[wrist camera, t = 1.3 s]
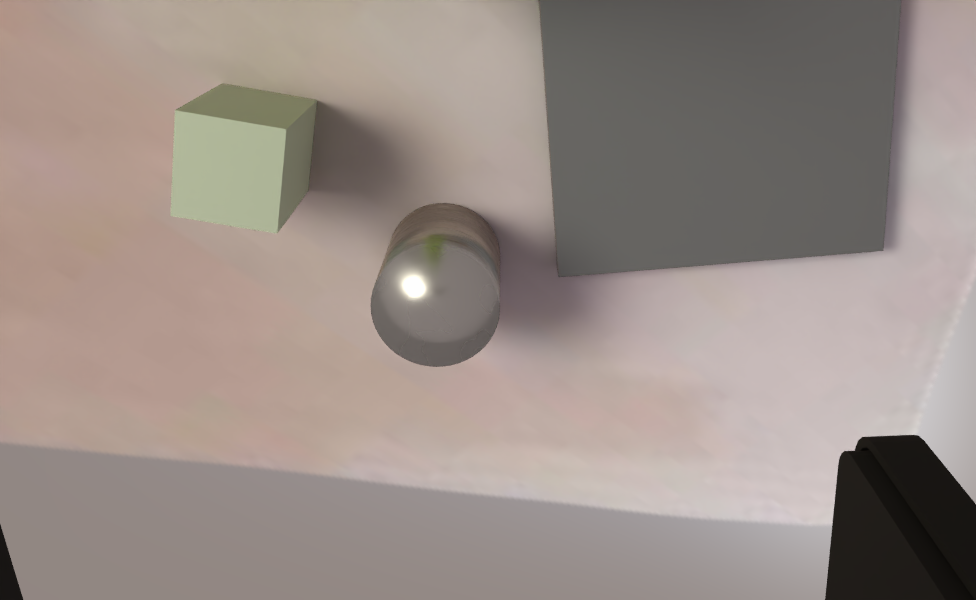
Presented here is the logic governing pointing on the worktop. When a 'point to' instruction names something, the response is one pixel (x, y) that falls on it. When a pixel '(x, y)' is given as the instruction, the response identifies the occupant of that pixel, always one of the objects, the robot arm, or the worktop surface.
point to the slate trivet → (717, 129)
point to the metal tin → (438, 286)
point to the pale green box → (242, 157)
